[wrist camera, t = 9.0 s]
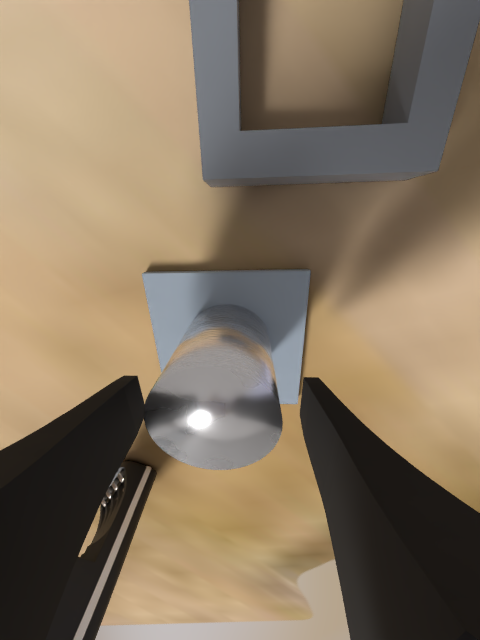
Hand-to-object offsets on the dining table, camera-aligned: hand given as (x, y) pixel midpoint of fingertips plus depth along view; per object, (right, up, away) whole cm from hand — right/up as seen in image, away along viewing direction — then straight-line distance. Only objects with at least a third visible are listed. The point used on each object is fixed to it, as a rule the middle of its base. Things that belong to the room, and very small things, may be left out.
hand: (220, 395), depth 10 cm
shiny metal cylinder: (0, +2, +4) cm, 4 cm away
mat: (0, +2, +4) cm, 5 cm away
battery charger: (-9, -11, +11) cm, 18 cm away
